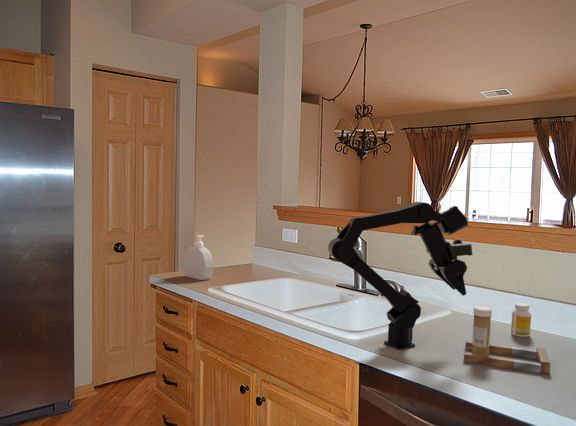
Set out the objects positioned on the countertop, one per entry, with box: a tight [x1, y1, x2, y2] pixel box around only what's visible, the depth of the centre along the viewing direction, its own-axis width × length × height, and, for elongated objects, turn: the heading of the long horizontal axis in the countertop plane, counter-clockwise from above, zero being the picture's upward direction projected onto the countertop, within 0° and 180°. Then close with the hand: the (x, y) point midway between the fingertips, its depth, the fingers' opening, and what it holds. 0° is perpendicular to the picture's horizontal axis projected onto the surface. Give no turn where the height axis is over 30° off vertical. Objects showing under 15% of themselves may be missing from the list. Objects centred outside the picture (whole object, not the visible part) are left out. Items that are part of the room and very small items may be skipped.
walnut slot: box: [463, 340, 551, 375], centre depth 130 cm, size 20×12×3 cm, turn 68°
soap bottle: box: [183, 234, 215, 281], centre depth 227 cm, size 16×5×20 cm, turn 49°
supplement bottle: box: [510, 302, 532, 338], centre depth 152 cm, size 5×5×10 cm
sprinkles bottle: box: [471, 305, 493, 356], centre depth 131 cm, size 5×5×13 cm
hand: (459, 291), depth 138 cm, fingers open, 9 cm apart
